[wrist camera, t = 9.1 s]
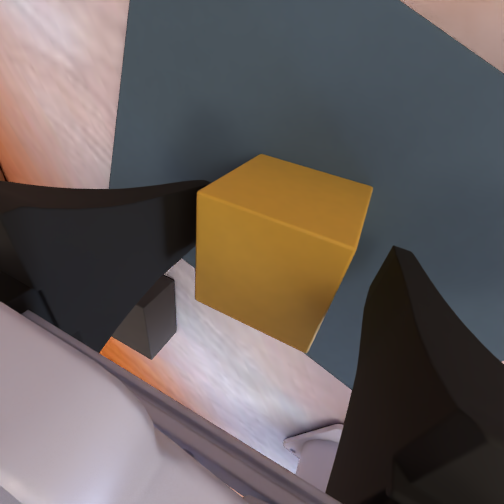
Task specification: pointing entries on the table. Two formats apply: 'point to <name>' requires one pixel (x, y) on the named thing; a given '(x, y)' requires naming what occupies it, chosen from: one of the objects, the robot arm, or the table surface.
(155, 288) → the base block
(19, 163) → the table surface
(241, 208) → the top block
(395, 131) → the mat
